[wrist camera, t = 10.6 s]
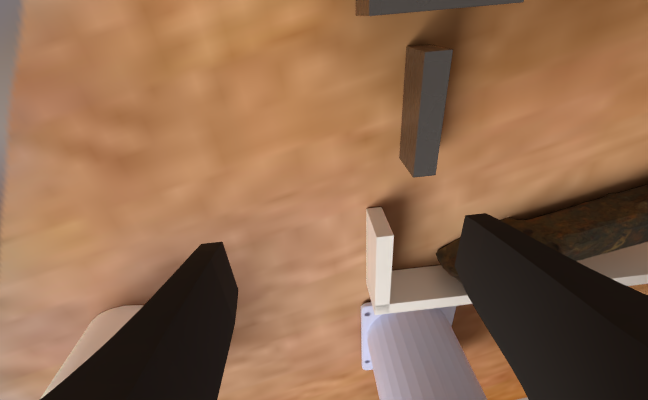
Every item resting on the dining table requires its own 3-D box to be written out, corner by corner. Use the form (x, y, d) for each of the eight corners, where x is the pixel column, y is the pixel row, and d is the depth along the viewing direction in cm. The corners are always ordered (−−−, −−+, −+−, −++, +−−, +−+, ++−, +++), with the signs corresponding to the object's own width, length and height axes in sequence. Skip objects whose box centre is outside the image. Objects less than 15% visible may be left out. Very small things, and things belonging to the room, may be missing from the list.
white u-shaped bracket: (709, 243, 24) (758, 270, 22) (366, 282, 23) (374, 315, 21) (772, 165, 20) (839, 186, 18) (366, 208, 20) (376, 237, 17)
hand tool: (716, 145, 20) (821, 178, 16) (693, 195, 22) (781, 235, 18) (430, 220, 21) (460, 267, 17) (434, 260, 23) (462, 310, 19)
